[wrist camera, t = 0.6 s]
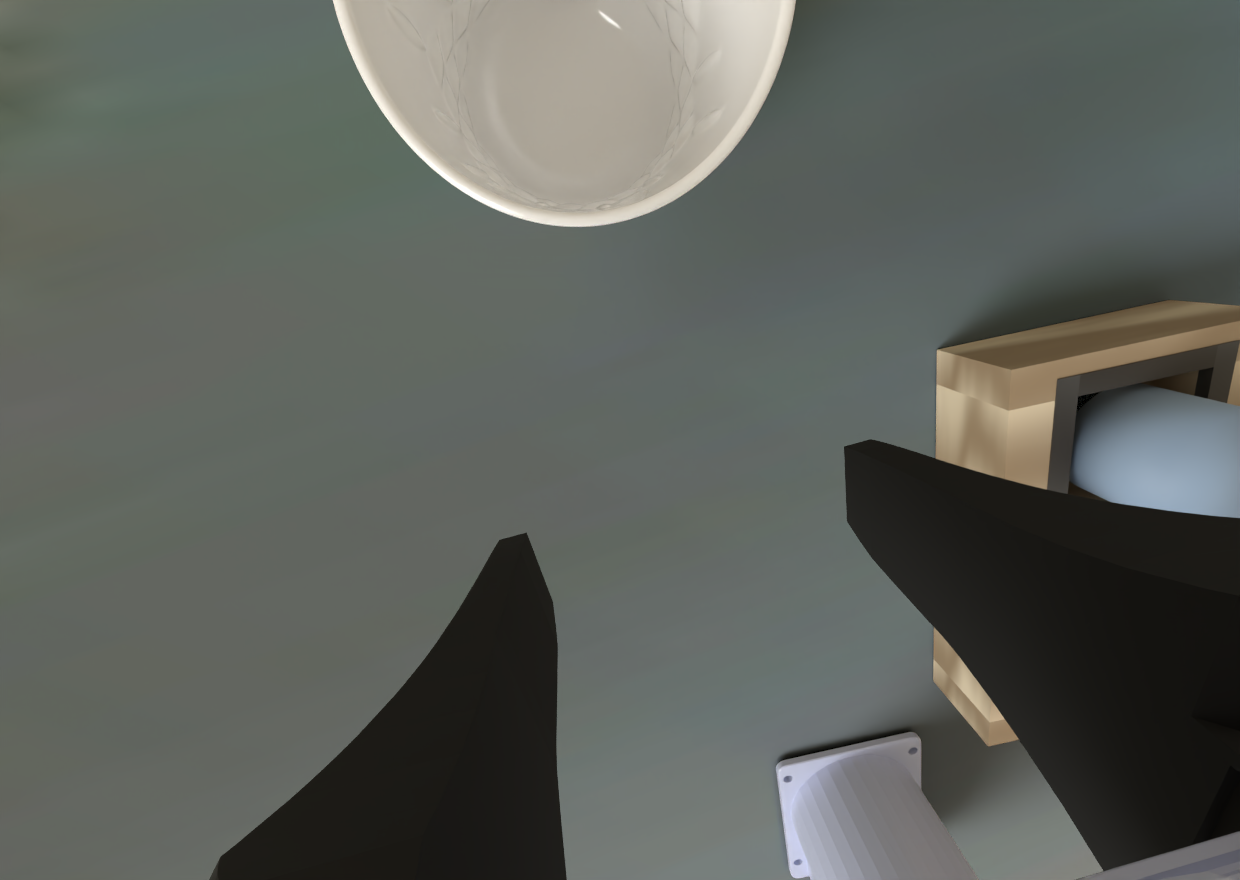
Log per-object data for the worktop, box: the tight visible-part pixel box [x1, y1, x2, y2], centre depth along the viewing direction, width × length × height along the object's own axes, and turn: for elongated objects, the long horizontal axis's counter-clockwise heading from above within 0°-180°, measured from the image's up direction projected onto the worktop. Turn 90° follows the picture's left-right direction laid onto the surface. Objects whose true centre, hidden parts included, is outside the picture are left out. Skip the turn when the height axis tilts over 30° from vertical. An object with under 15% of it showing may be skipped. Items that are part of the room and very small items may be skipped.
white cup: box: [333, 0, 796, 227], centre depth 14 cm, size 8×8×10 cm
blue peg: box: [1069, 383, 1240, 518], centre depth 19 cm, size 4×4×4 cm
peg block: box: [933, 300, 1240, 746], centre depth 23 cm, size 18×10×4 cm, turn 11°
